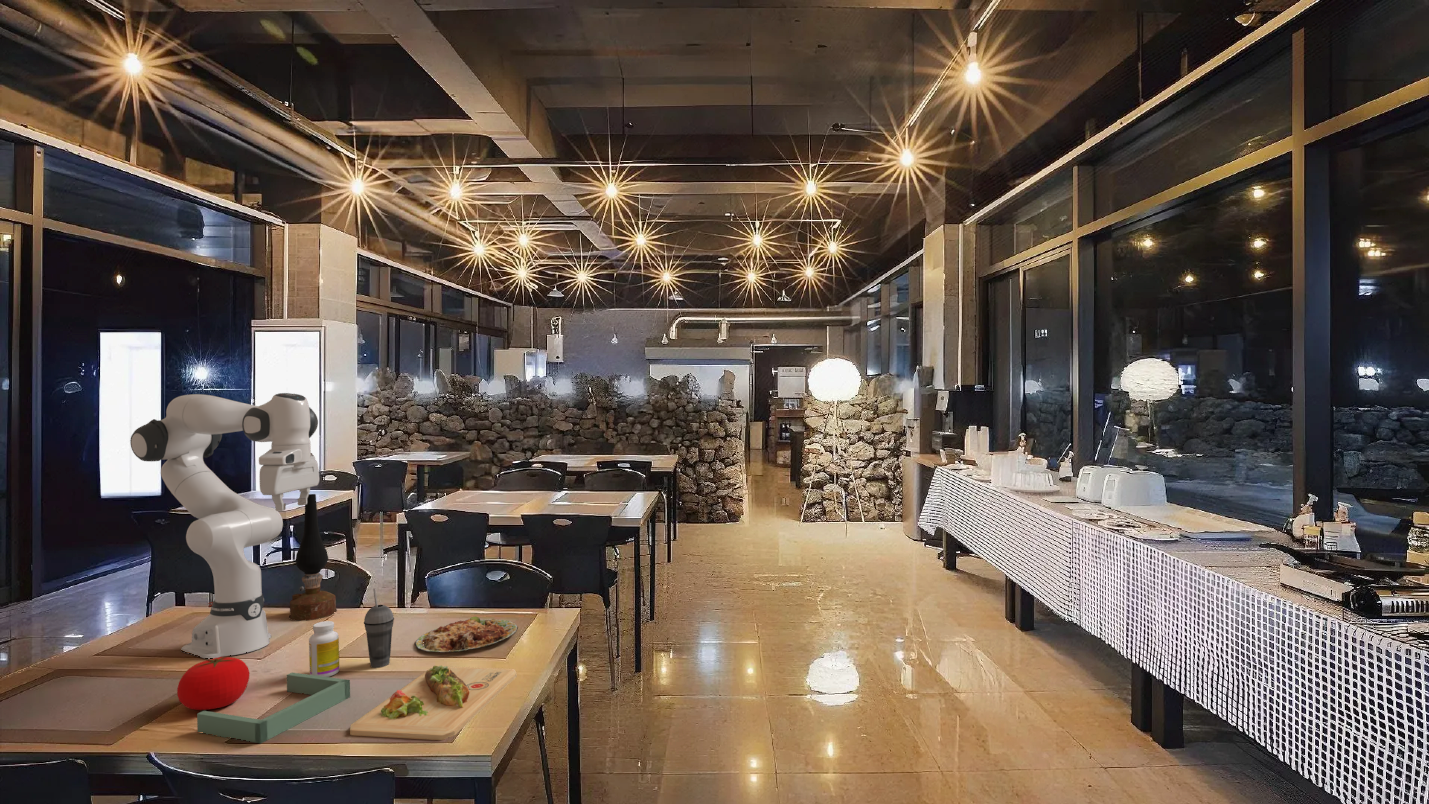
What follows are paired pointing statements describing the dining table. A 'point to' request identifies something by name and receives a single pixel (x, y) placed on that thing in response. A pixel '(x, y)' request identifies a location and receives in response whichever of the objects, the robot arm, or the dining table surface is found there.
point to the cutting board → (434, 703)
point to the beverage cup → (379, 633)
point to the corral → (258, 731)
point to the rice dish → (466, 635)
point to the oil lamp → (311, 571)
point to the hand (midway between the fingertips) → (291, 507)
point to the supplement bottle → (324, 650)
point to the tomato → (213, 683)
